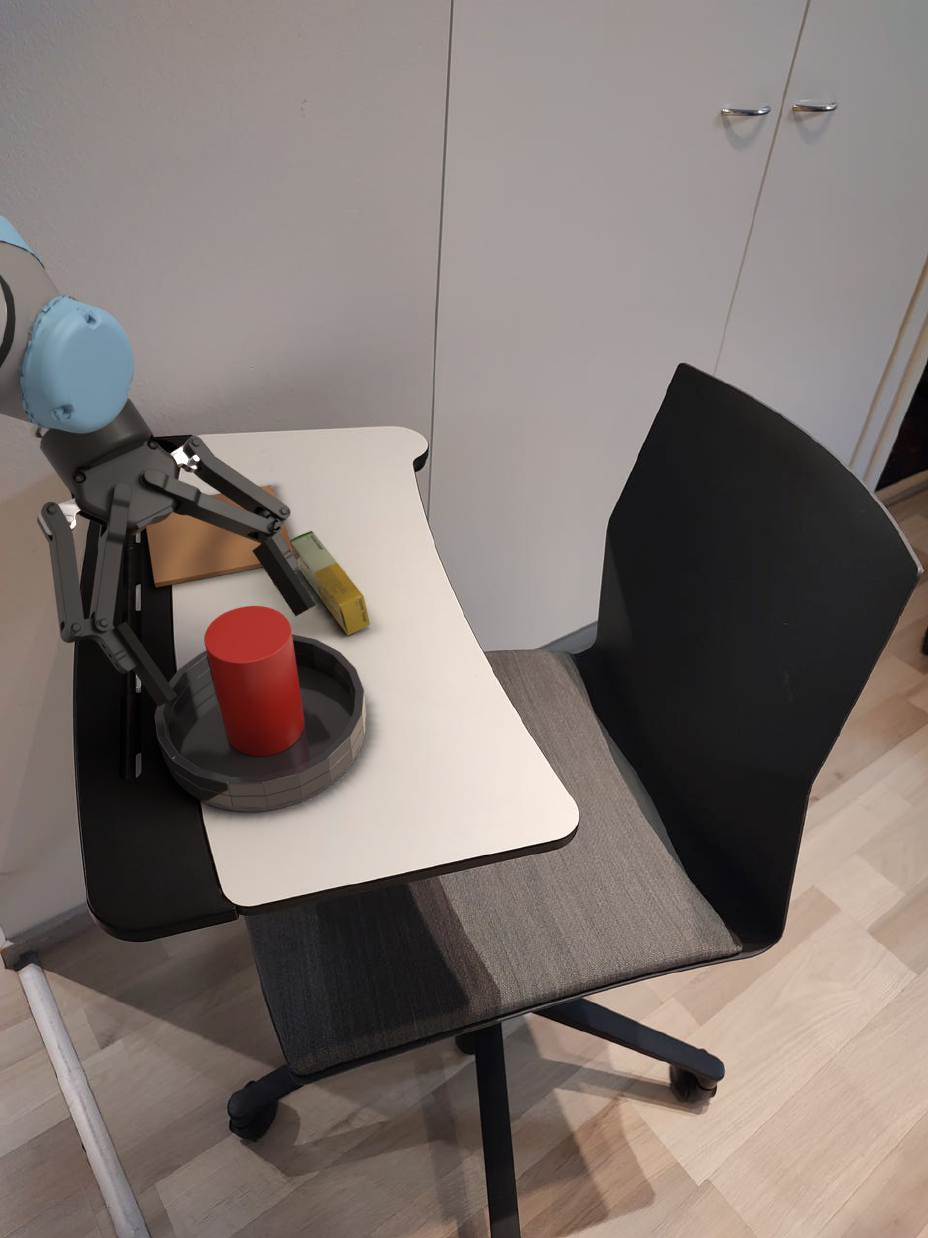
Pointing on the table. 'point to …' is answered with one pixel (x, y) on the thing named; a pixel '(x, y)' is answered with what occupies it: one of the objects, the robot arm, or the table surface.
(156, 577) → the mat
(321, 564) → the medication box
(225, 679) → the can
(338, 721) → the pan
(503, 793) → the table surface
